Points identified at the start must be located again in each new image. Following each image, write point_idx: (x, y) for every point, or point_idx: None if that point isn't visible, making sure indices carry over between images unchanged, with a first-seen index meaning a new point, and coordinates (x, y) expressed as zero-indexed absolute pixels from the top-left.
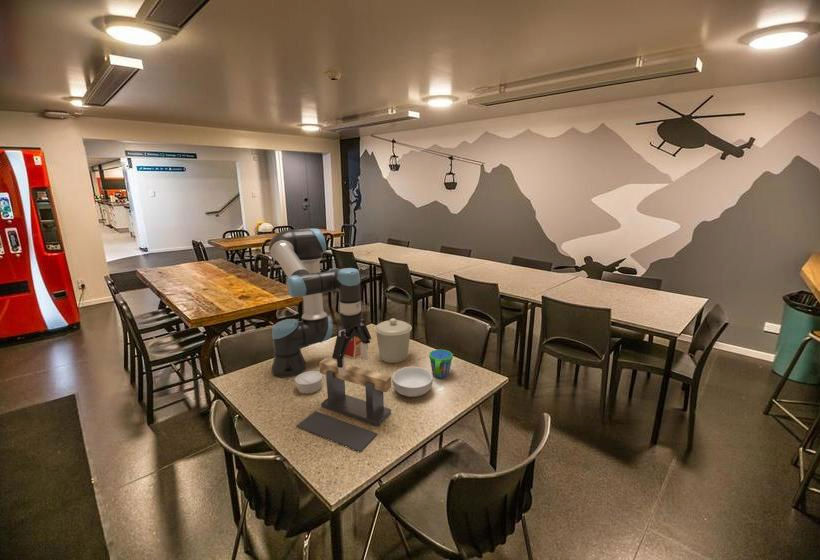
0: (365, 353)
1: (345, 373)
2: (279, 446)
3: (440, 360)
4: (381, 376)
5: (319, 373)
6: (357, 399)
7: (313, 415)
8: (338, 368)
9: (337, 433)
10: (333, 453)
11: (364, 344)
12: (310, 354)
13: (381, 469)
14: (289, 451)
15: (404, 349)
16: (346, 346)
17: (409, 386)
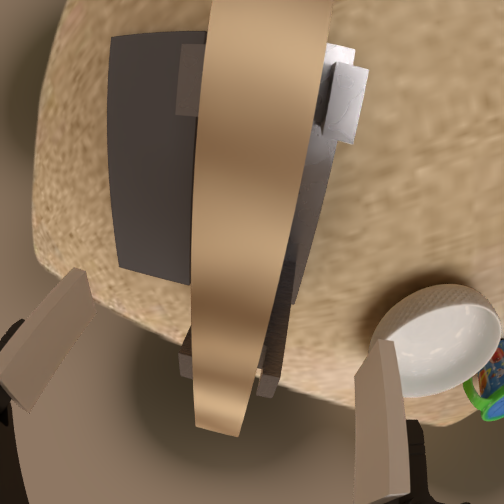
0: (359, 421)
1: (85, 320)
2: (49, 68)
3: (483, 410)
4: (220, 419)
5: None
6: (321, 173)
7: (176, 45)
8: (46, 299)
9: (134, 183)
10: (88, 207)
11: (362, 501)
12: None
13: (115, 310)
14: (48, 104)
15: None
16: (15, 498)
17: (444, 312)
